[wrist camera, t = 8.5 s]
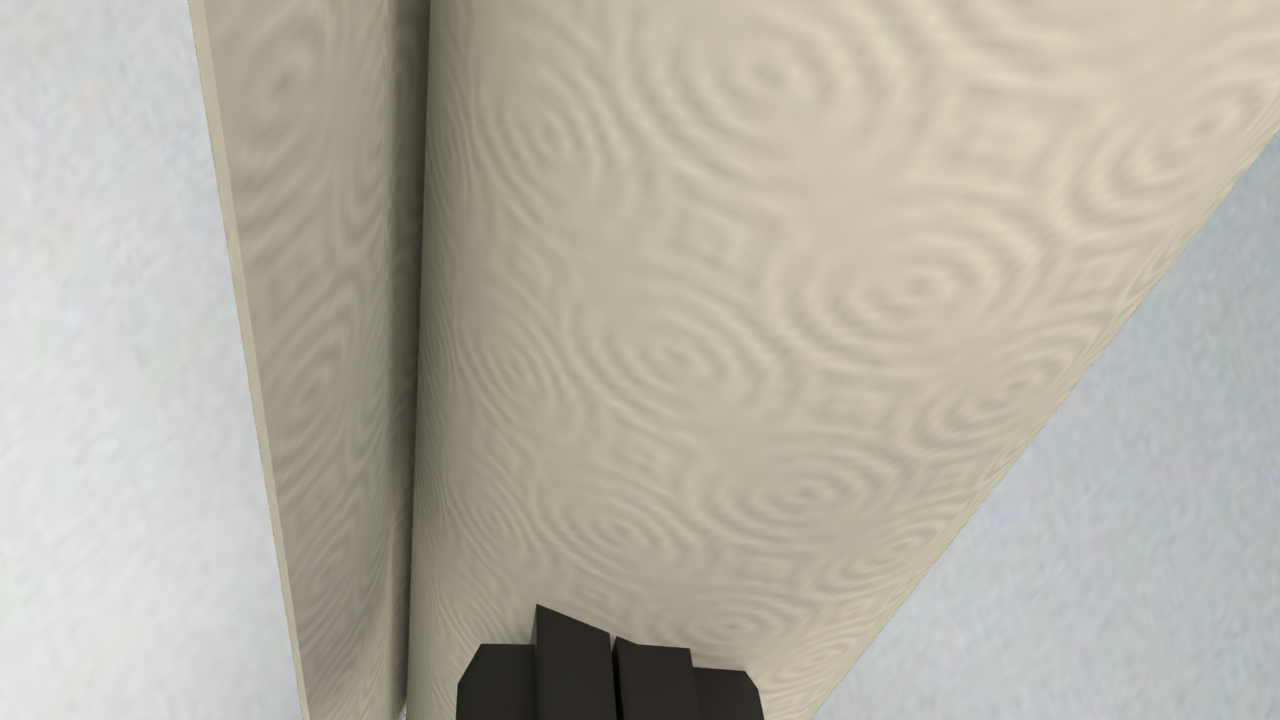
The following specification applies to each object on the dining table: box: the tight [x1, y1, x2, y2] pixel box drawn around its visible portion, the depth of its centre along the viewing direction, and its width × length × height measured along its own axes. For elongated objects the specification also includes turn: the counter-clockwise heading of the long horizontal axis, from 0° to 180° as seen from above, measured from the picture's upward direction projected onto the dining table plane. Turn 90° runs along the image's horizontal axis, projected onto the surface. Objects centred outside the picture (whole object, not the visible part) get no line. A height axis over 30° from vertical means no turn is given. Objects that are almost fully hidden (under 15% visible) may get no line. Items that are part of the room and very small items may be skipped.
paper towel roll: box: [188, 0, 1280, 720], centre depth 12 cm, size 7×6×21 cm
